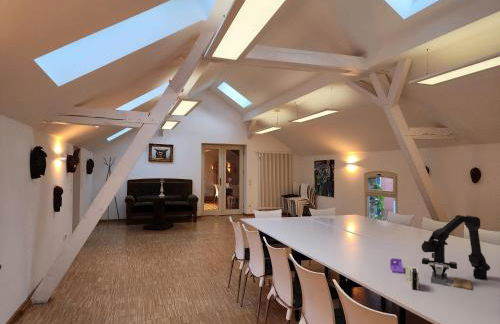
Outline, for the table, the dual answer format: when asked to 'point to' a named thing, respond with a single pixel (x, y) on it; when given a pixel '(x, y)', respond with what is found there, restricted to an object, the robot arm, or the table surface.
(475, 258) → the robot arm
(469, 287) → the walnut pad
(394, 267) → the bracket
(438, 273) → the grey flared bar
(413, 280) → the hinge
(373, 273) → the table surface
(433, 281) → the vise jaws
